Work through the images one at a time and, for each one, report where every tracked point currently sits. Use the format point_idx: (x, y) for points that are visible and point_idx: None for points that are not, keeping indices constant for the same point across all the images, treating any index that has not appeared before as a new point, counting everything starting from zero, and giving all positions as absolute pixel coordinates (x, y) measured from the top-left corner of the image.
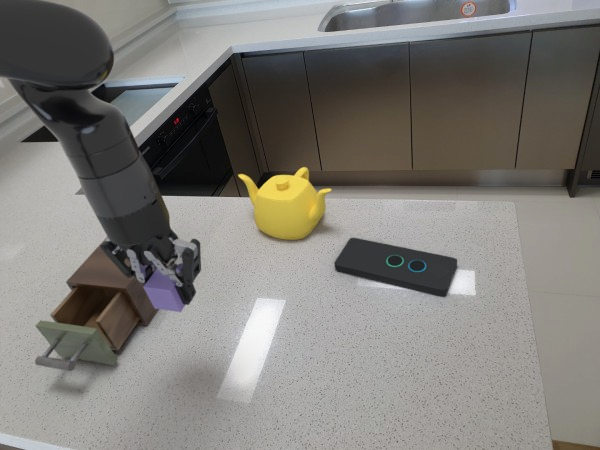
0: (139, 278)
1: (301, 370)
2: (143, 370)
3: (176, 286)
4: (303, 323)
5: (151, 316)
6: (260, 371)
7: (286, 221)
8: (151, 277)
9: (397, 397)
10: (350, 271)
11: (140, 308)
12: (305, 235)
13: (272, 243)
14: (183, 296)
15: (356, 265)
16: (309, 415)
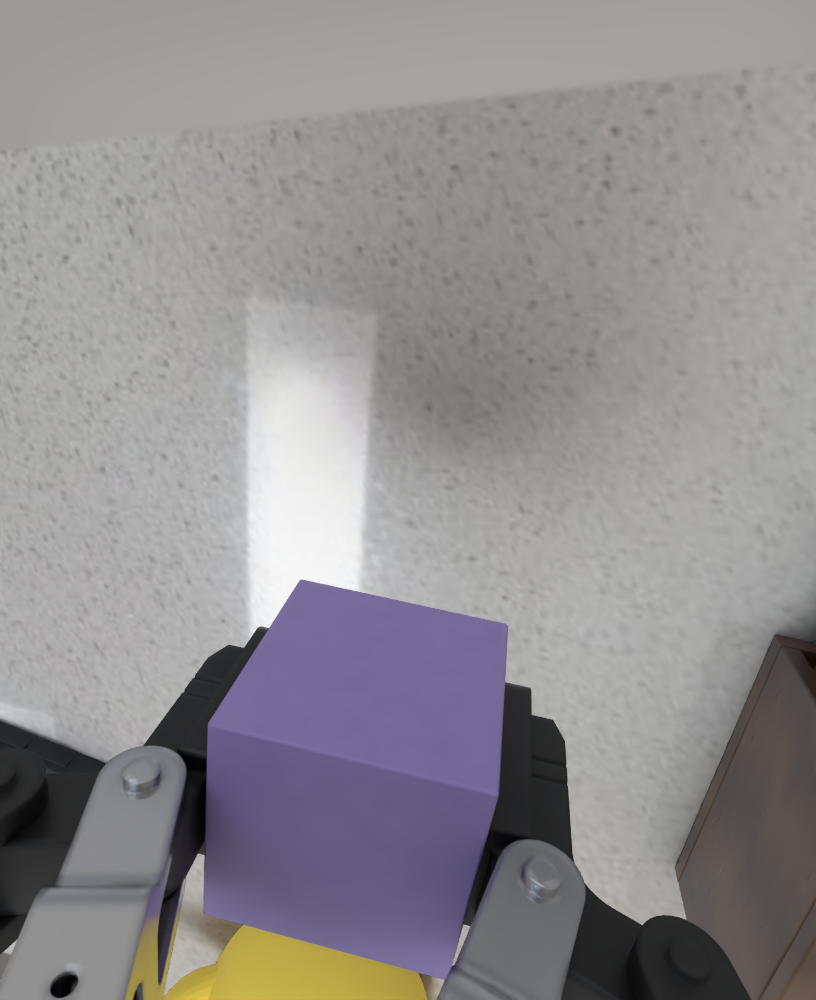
0: (546, 894)
1: (116, 424)
2: (732, 431)
3: (198, 756)
4: (166, 597)
5: (764, 676)
6: (249, 421)
7: (271, 993)
8: (461, 879)
9: None
10: (70, 763)
11: (805, 709)
12: None
13: None
14: (227, 676)
15: None
16: (38, 257)
